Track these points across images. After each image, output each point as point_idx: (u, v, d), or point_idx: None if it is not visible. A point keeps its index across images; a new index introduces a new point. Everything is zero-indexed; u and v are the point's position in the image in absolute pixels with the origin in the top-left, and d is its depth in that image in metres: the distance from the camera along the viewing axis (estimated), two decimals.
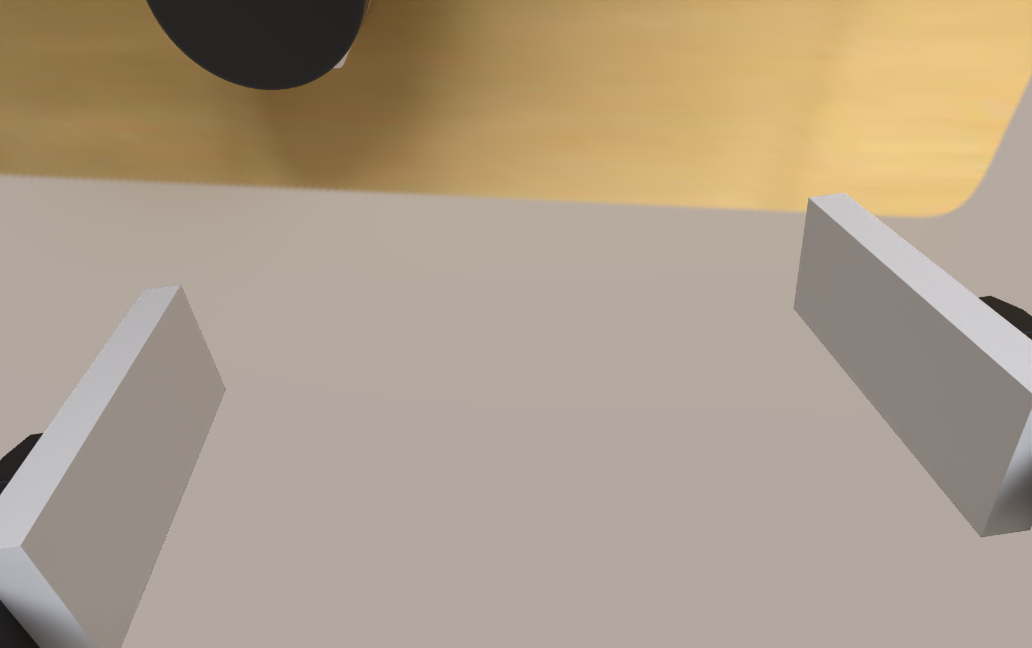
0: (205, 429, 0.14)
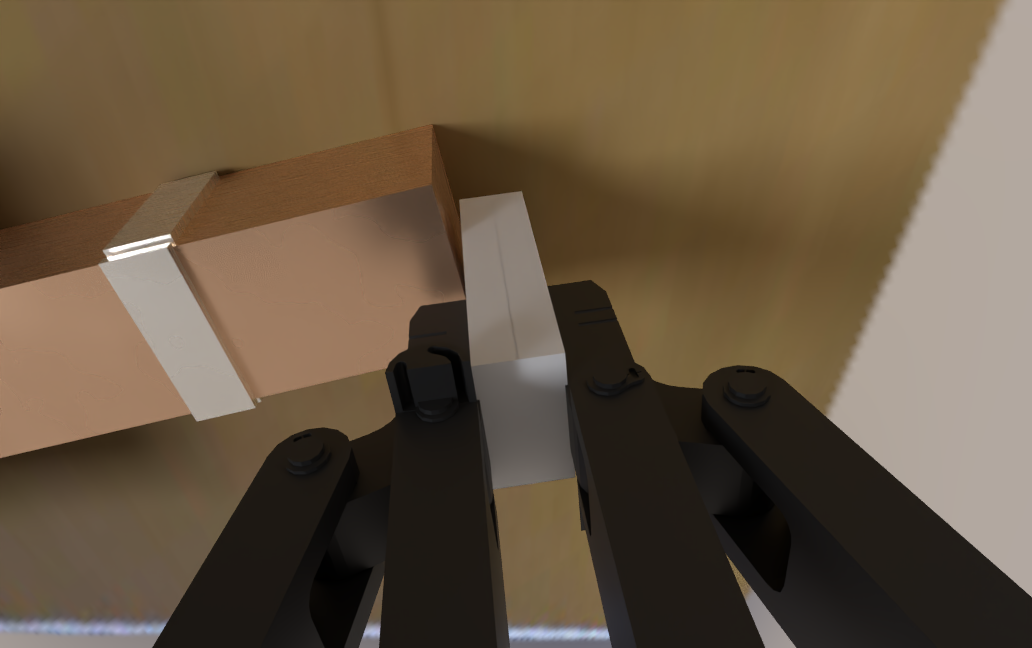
0: None
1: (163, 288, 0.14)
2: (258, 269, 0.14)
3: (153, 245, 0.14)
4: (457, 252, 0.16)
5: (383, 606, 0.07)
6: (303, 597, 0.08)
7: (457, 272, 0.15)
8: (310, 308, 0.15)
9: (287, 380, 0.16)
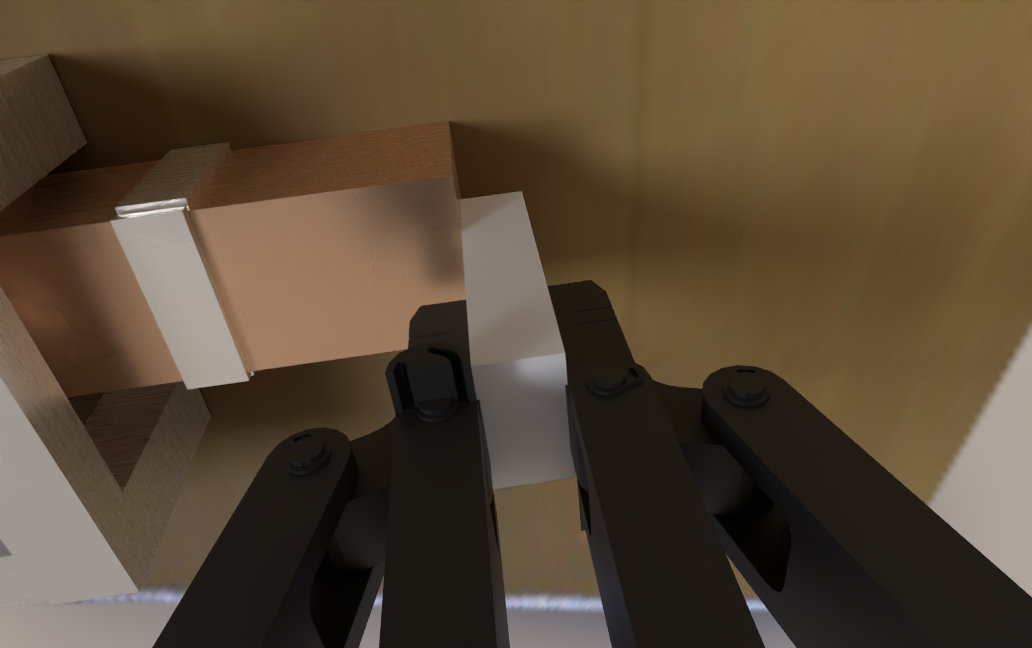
0: None
1: (172, 251, 0.14)
2: (269, 242, 0.14)
3: (167, 207, 0.14)
4: None
5: (383, 606, 0.07)
6: (302, 596, 0.08)
7: None
8: (316, 285, 0.15)
9: (284, 355, 0.16)
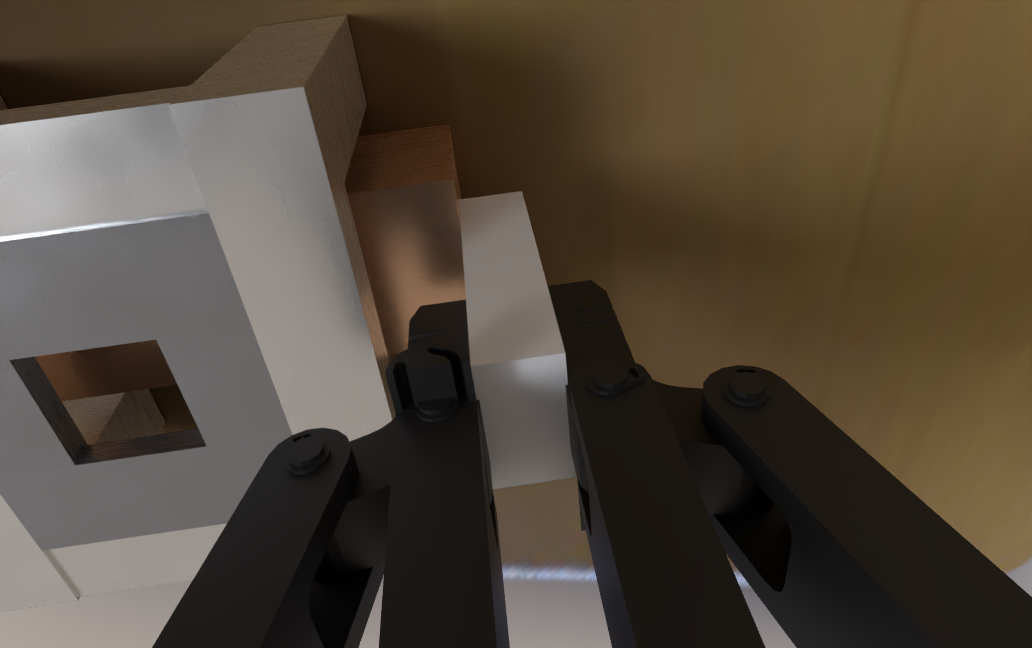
0: None
1: None
2: None
3: None
4: None
5: (383, 606, 0.07)
6: (302, 596, 0.08)
7: None
8: None
9: None
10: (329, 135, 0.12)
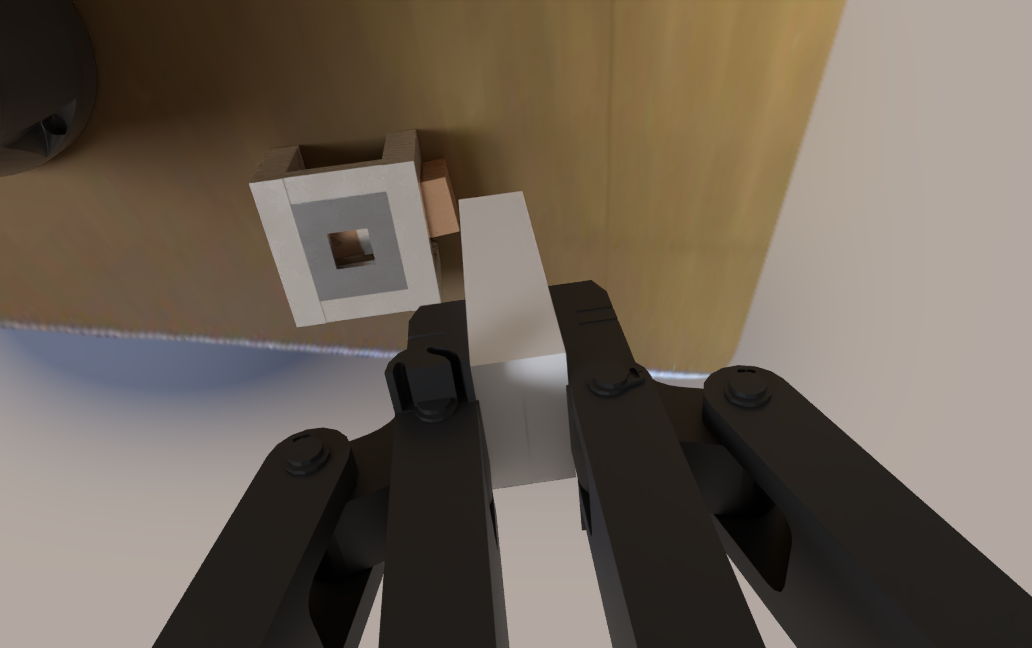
0: None
1: None
2: None
3: None
4: (452, 200, 0.48)
5: (382, 606, 0.07)
6: (303, 596, 0.08)
7: (452, 205, 0.47)
8: None
9: None
10: (417, 171, 0.44)
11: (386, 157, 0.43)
